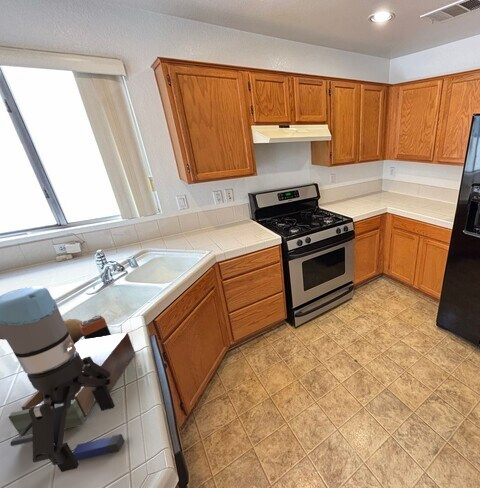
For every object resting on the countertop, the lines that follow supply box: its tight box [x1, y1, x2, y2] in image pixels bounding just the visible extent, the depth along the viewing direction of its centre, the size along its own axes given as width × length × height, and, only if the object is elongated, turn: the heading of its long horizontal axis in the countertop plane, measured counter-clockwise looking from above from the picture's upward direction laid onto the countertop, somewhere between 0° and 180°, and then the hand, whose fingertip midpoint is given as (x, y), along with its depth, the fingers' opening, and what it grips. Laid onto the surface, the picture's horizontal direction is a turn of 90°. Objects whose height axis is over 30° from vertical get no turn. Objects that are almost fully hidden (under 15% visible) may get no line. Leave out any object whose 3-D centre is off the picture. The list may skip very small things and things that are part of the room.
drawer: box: [7, 374, 97, 447], centre depth 69 cm, size 21×13×7 cm, turn 12°
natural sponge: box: [63, 318, 84, 343], centre depth 98 cm, size 9×9×10 cm
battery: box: [79, 314, 112, 340], centre depth 98 cm, size 4×7×10 cm, turn 144°
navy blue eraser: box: [72, 433, 125, 461], centre depth 61 cm, size 9×2×2 cm, turn 102°
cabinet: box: [75, 332, 136, 393], centre depth 81 cm, size 17×15×9 cm
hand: (91, 435), depth 59 cm, fingers open, 13 cm apart
